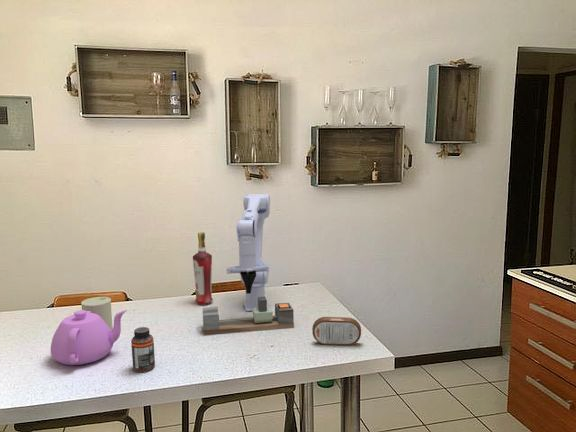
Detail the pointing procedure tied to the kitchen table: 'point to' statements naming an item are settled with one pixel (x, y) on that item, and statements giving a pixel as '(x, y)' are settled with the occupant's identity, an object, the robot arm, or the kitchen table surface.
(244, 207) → the robot arm
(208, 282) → the liquor
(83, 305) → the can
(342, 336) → the tin
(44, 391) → the kitchen table surface
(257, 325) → the rail base
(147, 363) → the supplement bottle
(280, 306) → the button
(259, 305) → the carriage
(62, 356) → the teapot
